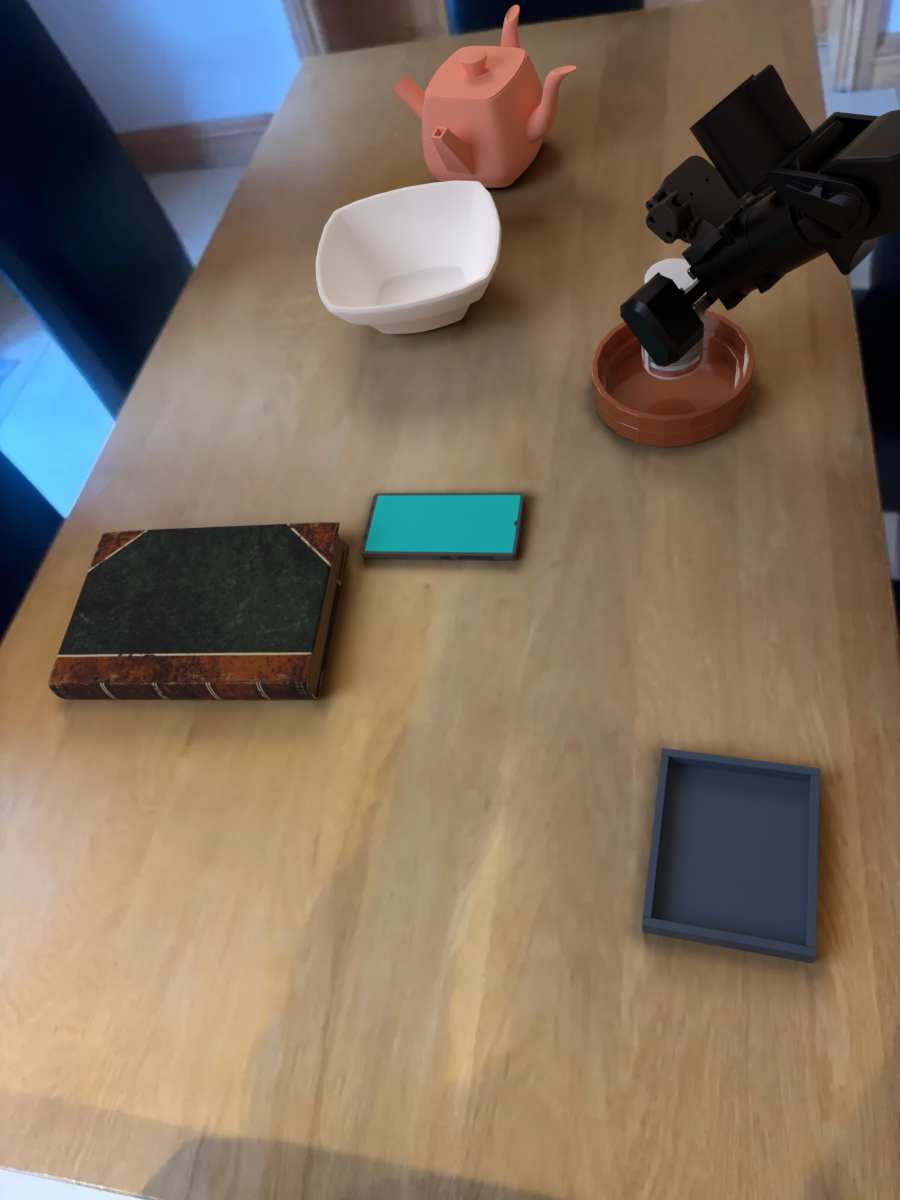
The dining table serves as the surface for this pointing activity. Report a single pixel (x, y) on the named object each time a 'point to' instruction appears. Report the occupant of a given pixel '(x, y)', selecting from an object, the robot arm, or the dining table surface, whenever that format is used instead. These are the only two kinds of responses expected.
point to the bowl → (409, 256)
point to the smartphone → (444, 526)
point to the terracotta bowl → (673, 387)
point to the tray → (735, 854)
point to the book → (204, 614)
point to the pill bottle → (679, 275)
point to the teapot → (485, 111)
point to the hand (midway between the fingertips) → (660, 303)
